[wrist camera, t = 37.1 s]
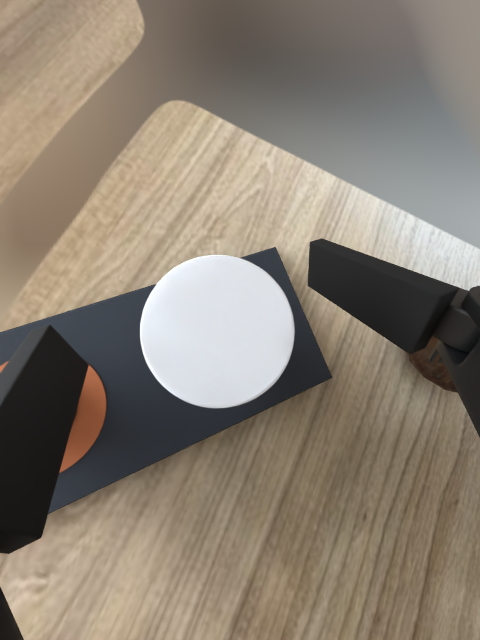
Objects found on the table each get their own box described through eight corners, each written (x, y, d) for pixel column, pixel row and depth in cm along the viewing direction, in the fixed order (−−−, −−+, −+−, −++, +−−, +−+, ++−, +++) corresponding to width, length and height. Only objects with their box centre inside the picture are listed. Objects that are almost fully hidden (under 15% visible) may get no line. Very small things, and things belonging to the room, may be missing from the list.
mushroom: (541, 351, 17) (624, 338, 12) (458, 413, 18) (499, 426, 13) (439, 294, 21) (467, 265, 16) (377, 348, 23) (384, 338, 17)
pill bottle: (258, 371, 16) (336, 396, 6) (184, 394, 15) (141, 465, 5) (239, 301, 17) (281, 226, 7) (167, 318, 16) (100, 257, 6)
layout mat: (273, 249, 19) (275, 245, 18) (328, 376, 18) (333, 377, 17) (-118, 372, 13) (-136, 373, 12) (-78, 570, 12) (-95, 583, 11)
